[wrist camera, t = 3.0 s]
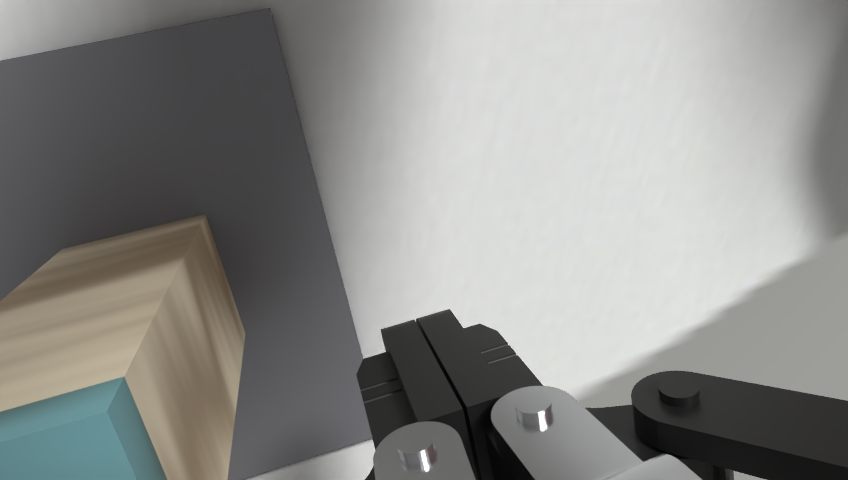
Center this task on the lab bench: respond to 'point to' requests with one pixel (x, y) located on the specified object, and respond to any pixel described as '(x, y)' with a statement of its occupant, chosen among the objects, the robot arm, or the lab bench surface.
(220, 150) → the mat
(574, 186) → the lab bench surface
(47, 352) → the bar
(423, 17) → the lab bench surface
